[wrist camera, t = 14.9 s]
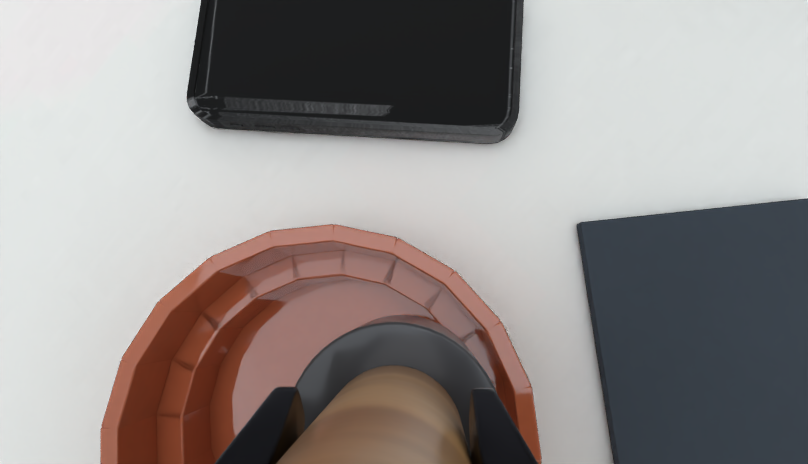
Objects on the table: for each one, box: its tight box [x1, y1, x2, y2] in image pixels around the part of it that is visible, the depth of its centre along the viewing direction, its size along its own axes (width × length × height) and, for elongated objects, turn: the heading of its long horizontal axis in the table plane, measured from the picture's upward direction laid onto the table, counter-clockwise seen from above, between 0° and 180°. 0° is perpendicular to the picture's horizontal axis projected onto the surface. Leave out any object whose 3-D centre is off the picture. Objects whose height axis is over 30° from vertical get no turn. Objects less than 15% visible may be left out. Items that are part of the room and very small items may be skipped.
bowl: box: [101, 224, 542, 464], centre depth 19 cm, size 14×14×6 cm
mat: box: [577, 199, 808, 464], centre depth 21 cm, size 12×10×1 cm
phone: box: [187, 0, 524, 144], centre depth 23 cm, size 8×1×15 cm
